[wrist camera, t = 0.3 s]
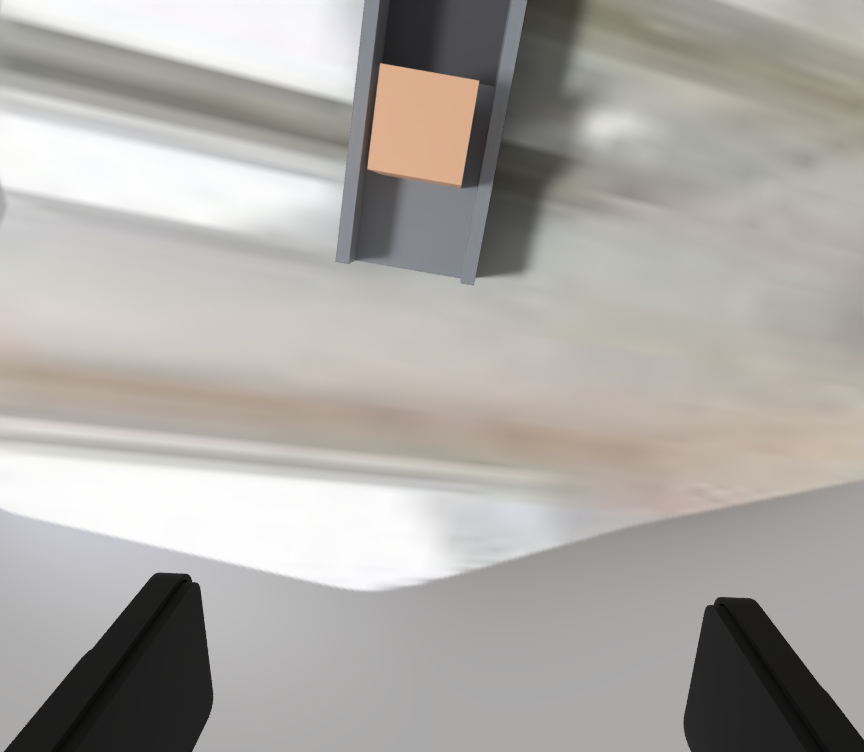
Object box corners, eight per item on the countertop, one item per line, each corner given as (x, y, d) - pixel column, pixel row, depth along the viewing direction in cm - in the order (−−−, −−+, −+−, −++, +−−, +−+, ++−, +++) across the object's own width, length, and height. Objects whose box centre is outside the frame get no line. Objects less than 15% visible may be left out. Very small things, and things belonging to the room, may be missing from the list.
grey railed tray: (388, -97, 32) (379, -135, 28) (536, -70, 32) (546, -105, 28) (346, 256, 38) (335, 261, 34) (472, 278, 38) (473, 285, 34)
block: (393, 87, 33) (380, 63, 28) (475, 102, 33) (479, 80, 28) (382, 175, 35) (367, 169, 29) (460, 188, 35) (461, 185, 29)
